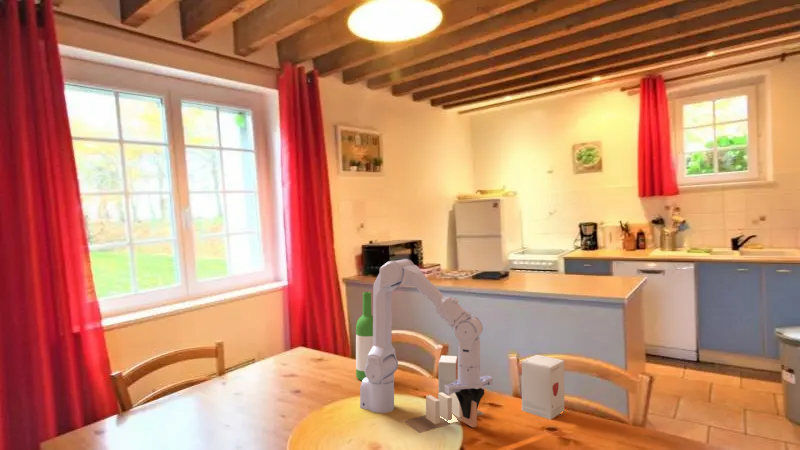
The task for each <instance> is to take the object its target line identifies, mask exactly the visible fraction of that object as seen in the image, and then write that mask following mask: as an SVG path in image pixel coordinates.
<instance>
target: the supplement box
mask: <svg viewBox="0 0 800 450" xmlns="http://www.w3.org/2000/svg"><path fill="white" fill-rule="evenodd" d="M521 411H522V412H525V413H529V414H531V415H534V416H538V417H541V418H544V419H548V420H552V419H554V418H555V417H557V416H560V415H559V414H560V413H561V412H562V411H564V412H565V360H563V359H559V358H555V357H549V356H545V355H540V354H535V355H533V356H532V355H531V356H530V357H528V358H526V359H523V360H522V361H521Z"/></svg>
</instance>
